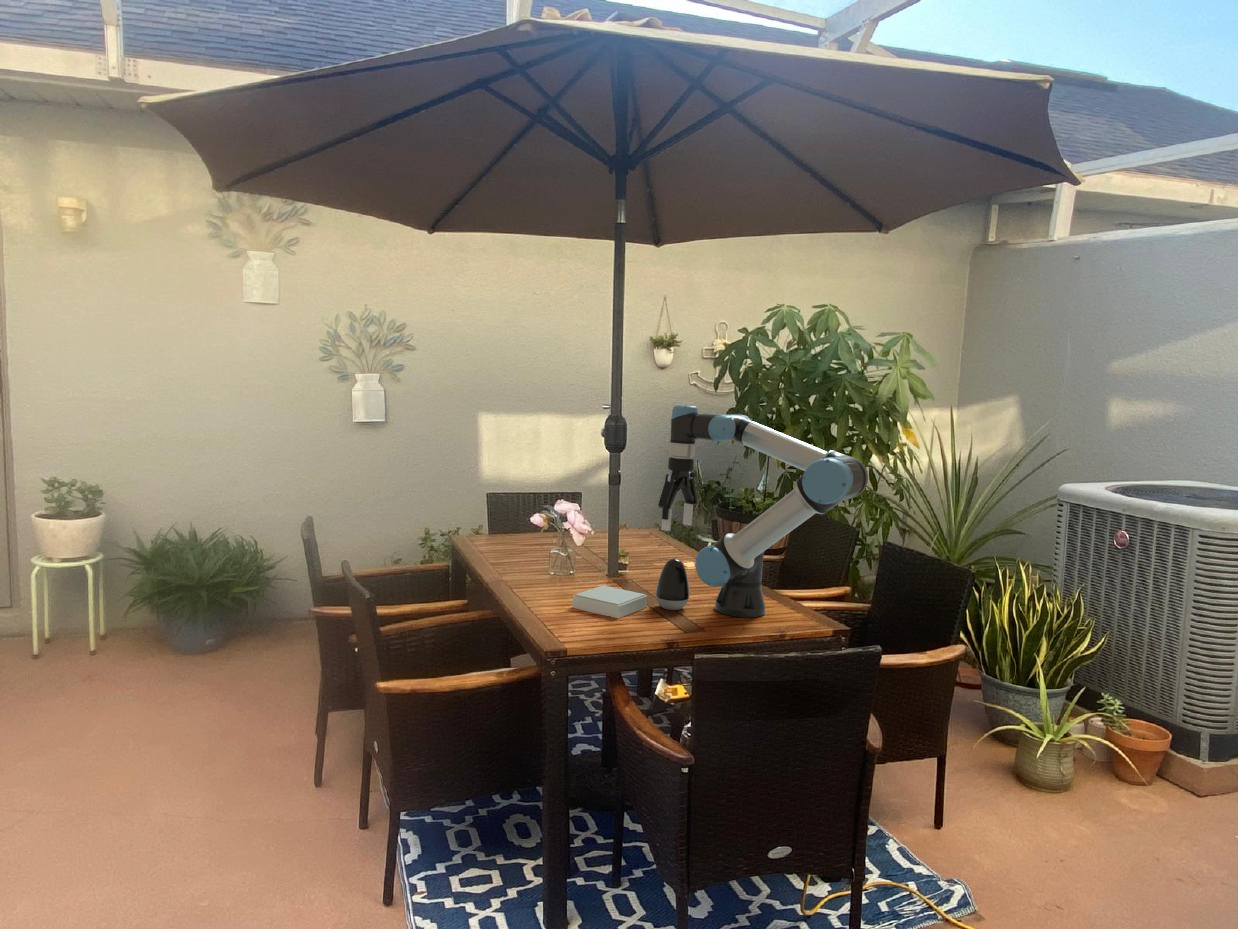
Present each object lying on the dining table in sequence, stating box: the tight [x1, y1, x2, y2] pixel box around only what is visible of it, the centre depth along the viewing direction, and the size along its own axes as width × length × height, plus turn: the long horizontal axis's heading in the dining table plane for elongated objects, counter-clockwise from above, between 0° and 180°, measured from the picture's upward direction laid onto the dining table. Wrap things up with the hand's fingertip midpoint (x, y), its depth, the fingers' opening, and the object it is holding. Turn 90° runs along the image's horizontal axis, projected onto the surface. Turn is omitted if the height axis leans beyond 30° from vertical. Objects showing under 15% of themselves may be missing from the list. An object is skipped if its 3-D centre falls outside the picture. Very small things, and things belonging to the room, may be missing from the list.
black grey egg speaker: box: [655, 558, 691, 611], centre depth 251 cm, size 10×10×15 cm
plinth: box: [572, 585, 648, 619], centre depth 248 cm, size 16×16×4 cm
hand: (676, 527), depth 249 cm, fingers open, 13 cm apart
